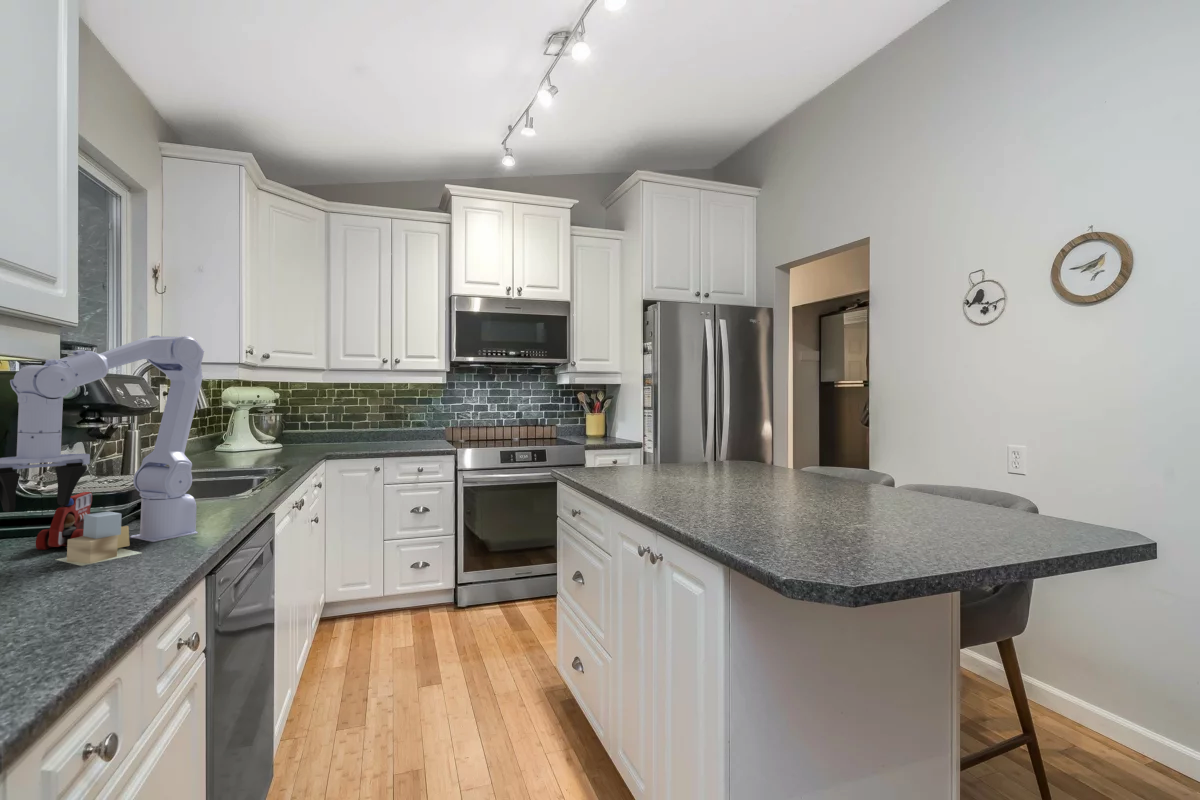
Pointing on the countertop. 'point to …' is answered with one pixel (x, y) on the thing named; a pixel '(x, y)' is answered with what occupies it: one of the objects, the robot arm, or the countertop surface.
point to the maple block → (91, 549)
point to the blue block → (102, 524)
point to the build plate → (120, 554)
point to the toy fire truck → (66, 522)
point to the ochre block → (123, 537)
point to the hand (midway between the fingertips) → (36, 507)
